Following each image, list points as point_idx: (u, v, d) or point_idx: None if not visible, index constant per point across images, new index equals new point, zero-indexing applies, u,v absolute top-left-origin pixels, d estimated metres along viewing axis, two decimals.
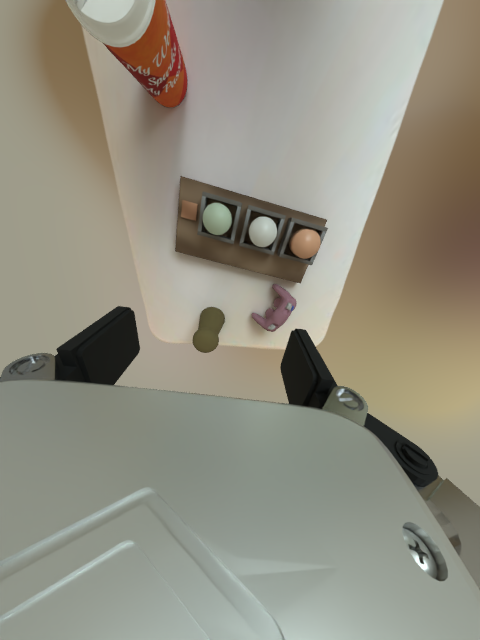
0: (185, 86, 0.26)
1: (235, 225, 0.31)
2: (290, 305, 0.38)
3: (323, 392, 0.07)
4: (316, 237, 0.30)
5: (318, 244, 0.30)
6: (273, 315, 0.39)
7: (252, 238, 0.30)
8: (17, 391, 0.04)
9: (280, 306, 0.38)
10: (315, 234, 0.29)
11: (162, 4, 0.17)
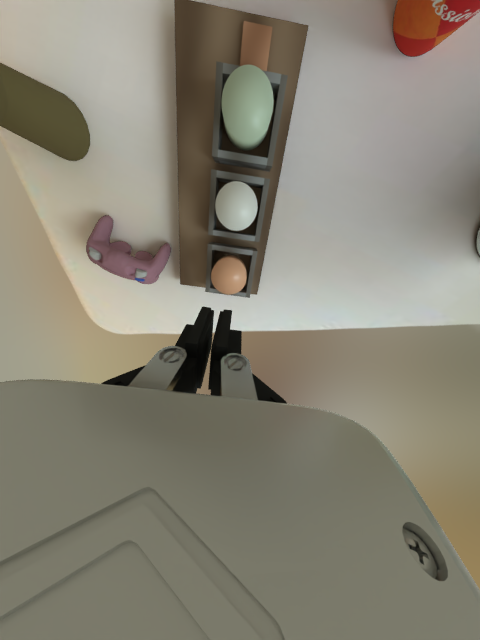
0: (411, 46, 0.18)
1: (241, 156, 0.19)
2: (143, 275, 0.25)
3: (221, 359, 0.08)
4: (238, 287, 0.23)
5: (231, 292, 0.24)
6: (116, 252, 0.24)
7: (225, 189, 0.18)
8: (17, 391, 0.04)
9: (136, 260, 0.24)
10: (241, 285, 0.23)
11: None
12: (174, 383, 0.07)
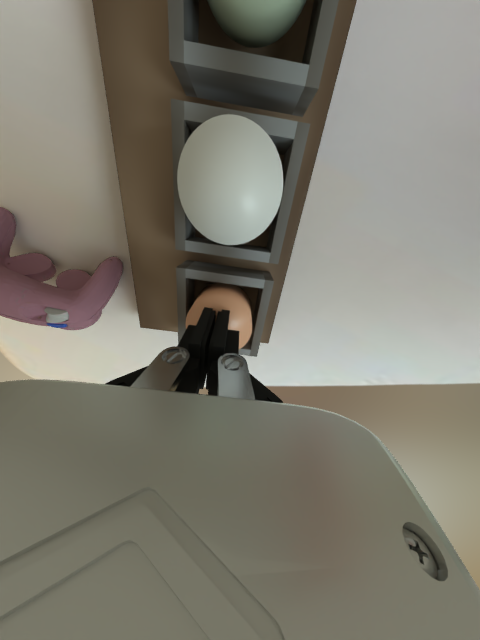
0: None
1: (242, 61, 0.08)
2: (62, 318, 0.13)
3: (218, 359, 0.08)
4: None
5: None
6: None
7: (201, 139, 0.07)
8: (17, 391, 0.04)
9: (45, 292, 0.13)
10: (243, 340, 0.13)
11: None
12: (177, 384, 0.07)
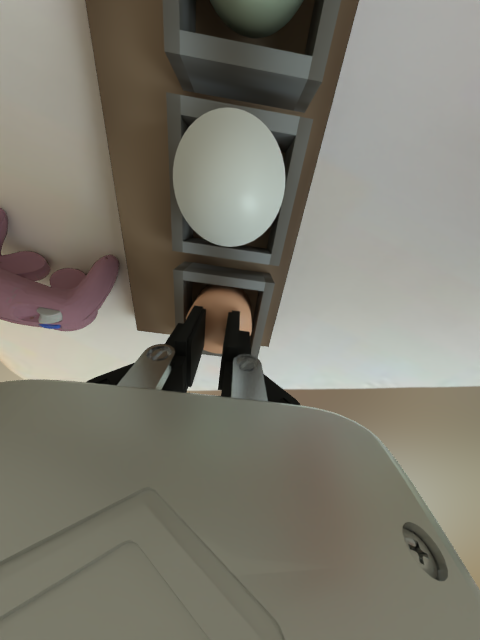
0: None
1: (242, 52, 0.07)
2: (56, 319, 0.13)
3: (232, 360, 0.08)
4: None
5: None
6: None
7: (198, 134, 0.07)
8: (17, 391, 0.04)
9: (37, 292, 0.12)
10: None
11: None
12: None
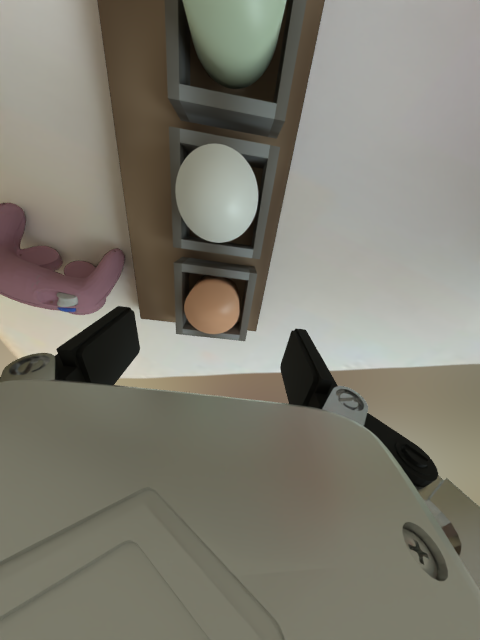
0: None
1: (225, 99, 0.10)
2: (72, 303, 0.15)
3: (323, 392, 0.07)
4: (227, 324, 0.15)
5: (216, 330, 0.16)
6: (16, 266, 0.14)
7: (193, 161, 0.09)
8: (17, 391, 0.04)
9: (56, 279, 0.14)
10: (232, 321, 0.15)
11: None
12: None
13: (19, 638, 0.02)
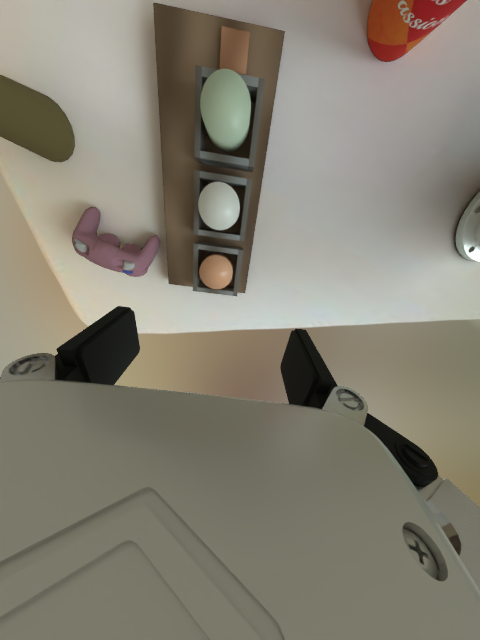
0: (385, 52, 0.18)
1: (223, 157, 0.20)
2: (131, 267, 0.25)
3: (323, 392, 0.07)
4: (225, 282, 0.25)
5: (218, 286, 0.25)
6: (102, 243, 0.23)
7: (207, 189, 0.19)
8: (17, 391, 0.04)
9: (123, 252, 0.24)
10: (228, 280, 0.25)
11: None
12: None
13: (19, 638, 0.02)
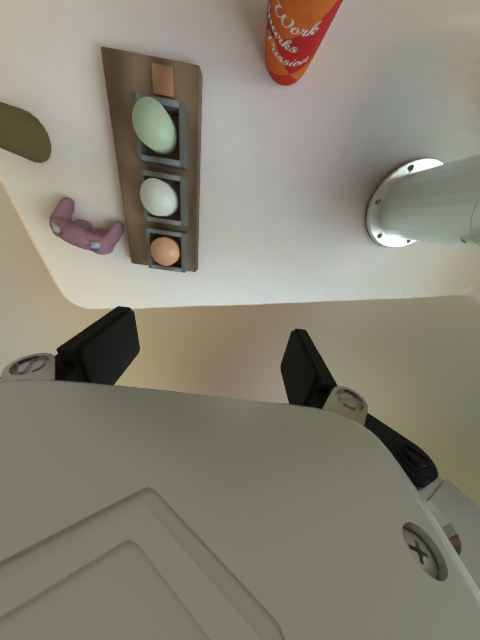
0: (279, 79, 0.24)
1: (159, 159, 0.26)
2: (97, 246, 0.31)
3: (323, 392, 0.07)
4: (172, 259, 0.31)
5: (167, 263, 0.31)
6: (73, 226, 0.29)
7: (145, 184, 0.25)
8: (17, 391, 0.04)
9: (90, 234, 0.30)
10: (174, 258, 0.31)
11: (310, 15, 0.16)
12: None
13: (19, 638, 0.02)
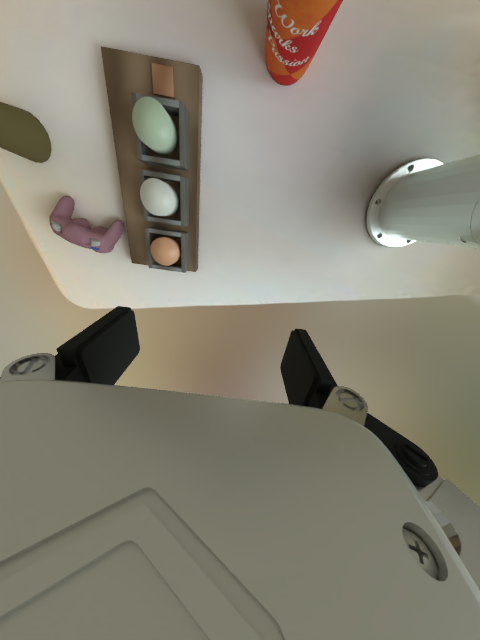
0: (279, 79, 0.24)
1: (159, 159, 0.26)
2: (97, 244, 0.31)
3: (323, 392, 0.07)
4: (172, 259, 0.31)
5: (167, 263, 0.31)
6: (73, 224, 0.29)
7: (146, 184, 0.25)
8: (17, 391, 0.04)
9: (90, 232, 0.30)
10: (174, 258, 0.31)
11: (310, 14, 0.16)
12: None
13: (19, 638, 0.02)
